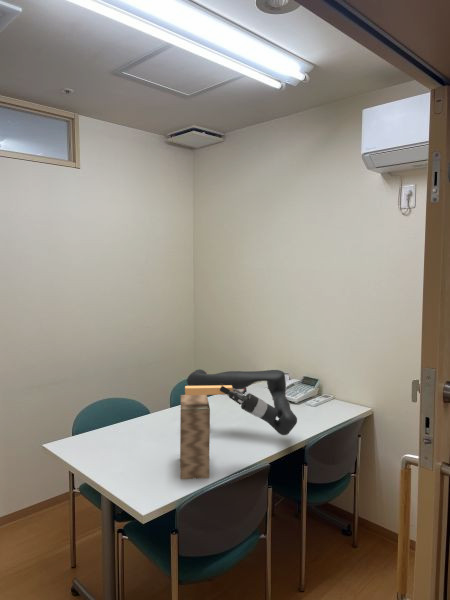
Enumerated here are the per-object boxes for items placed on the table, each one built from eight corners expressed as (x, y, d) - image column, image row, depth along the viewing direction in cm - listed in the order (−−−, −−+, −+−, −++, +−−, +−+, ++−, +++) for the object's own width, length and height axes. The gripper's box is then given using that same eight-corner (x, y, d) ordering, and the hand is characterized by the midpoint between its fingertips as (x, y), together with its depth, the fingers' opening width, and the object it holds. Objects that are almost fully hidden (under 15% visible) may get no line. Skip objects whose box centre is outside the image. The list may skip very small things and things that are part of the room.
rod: (185, 395, 187) (185, 388, 187) (185, 392, 190) (185, 385, 190) (232, 394, 189) (232, 387, 189) (231, 392, 193) (231, 385, 192)
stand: (180, 479, 187) (181, 409, 184) (180, 458, 206) (180, 394, 204) (209, 478, 188) (209, 408, 185) (206, 457, 208) (206, 394, 205)
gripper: (255, 393, 199) (223, 374, 197) (261, 403, 185) (226, 383, 183) (247, 407, 199) (214, 389, 197) (252, 418, 186) (217, 399, 183)
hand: (220, 386), depth 190 cm, fingers closed on rod, 3 cm apart
